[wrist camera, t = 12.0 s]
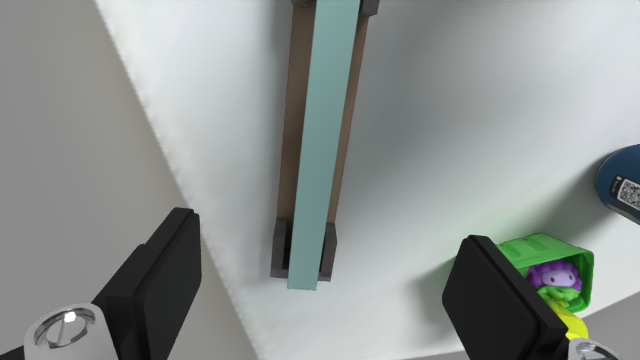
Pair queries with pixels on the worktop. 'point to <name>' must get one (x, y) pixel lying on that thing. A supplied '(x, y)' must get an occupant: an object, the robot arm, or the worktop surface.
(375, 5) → the endcap rail
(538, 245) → the fruit basket
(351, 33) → the slat
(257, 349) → the worktop surface
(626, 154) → the soda can
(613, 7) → the worktop surface
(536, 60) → the worktop surface
